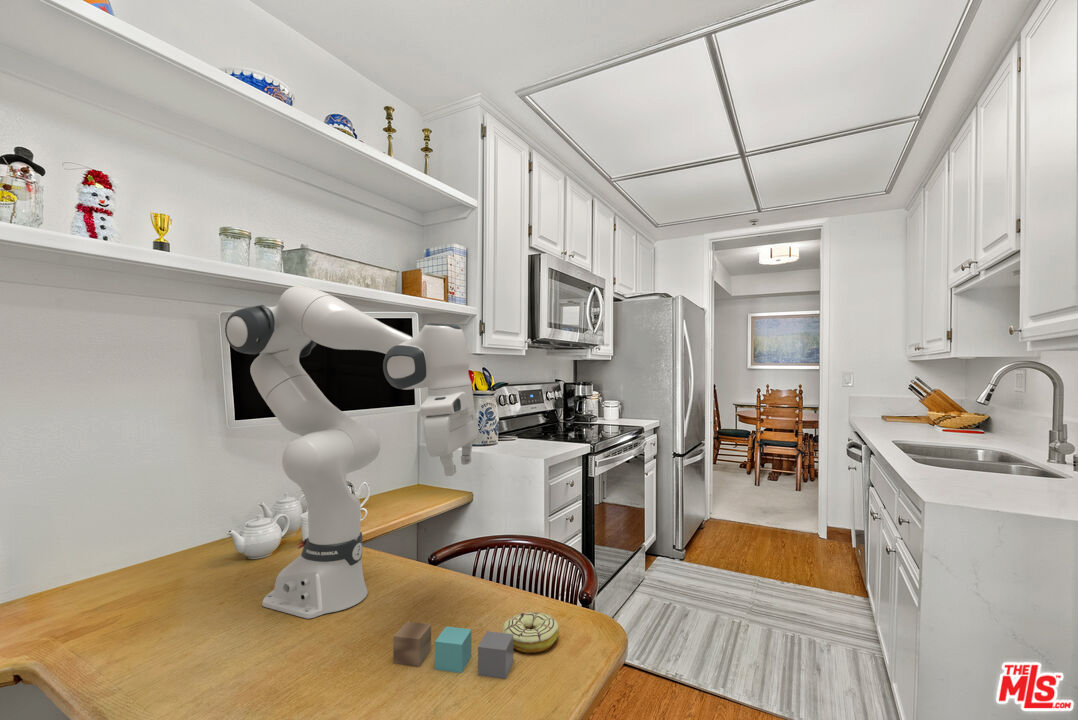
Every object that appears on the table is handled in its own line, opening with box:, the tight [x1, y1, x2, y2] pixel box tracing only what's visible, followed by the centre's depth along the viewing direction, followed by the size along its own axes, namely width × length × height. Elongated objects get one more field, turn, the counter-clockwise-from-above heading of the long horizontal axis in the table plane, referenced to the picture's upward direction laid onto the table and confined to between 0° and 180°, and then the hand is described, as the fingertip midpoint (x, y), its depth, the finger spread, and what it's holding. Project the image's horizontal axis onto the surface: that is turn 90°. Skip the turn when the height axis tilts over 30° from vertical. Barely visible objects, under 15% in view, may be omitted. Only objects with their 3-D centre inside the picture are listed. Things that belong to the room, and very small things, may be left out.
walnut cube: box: [392, 621, 432, 668], centre depth 89 cm, size 5×5×5 cm
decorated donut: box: [502, 611, 560, 654], centre depth 94 cm, size 10×11×4 cm
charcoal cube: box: [477, 630, 514, 680], centre depth 85 cm, size 5×5×5 cm
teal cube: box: [434, 626, 473, 674], centre depth 87 cm, size 5×5×5 cm
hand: (459, 469), depth 98 cm, fingers open, 8 cm apart
